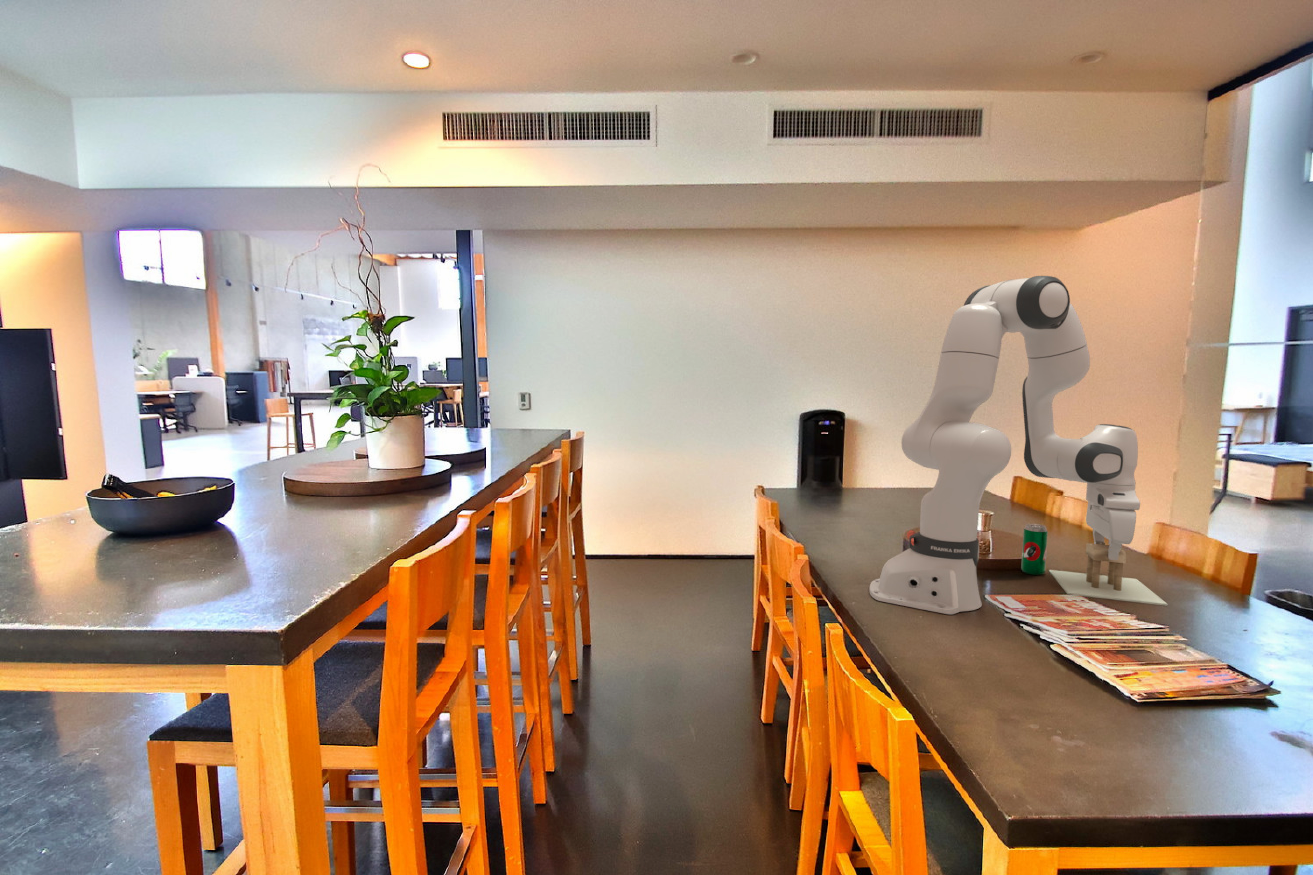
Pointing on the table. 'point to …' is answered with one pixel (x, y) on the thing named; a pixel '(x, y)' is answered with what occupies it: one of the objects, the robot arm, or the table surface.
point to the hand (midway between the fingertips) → (1105, 553)
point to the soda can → (1034, 549)
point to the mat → (1106, 588)
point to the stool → (1094, 563)
